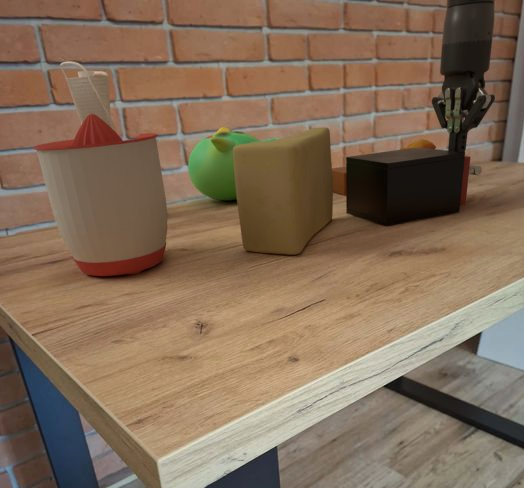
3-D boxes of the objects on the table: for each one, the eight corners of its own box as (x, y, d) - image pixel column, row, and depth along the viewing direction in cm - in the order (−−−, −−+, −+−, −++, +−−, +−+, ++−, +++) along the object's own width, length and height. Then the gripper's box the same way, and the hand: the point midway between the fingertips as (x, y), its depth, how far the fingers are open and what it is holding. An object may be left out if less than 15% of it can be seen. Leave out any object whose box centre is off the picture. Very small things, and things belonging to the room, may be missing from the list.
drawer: (443, 192, 98) (447, 148, 94) (487, 201, 88) (493, 153, 85) (361, 206, 92) (361, 160, 89) (398, 217, 83) (400, 166, 79)
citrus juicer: (195, 245, 80) (175, 105, 71) (152, 283, 65) (120, 112, 56) (105, 247, 84) (75, 114, 74) (44, 284, 68) (-3, 122, 59)
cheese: (303, 217, 92) (300, 127, 85) (355, 219, 87) (355, 124, 80) (239, 252, 75) (228, 143, 68) (298, 257, 70) (293, 140, 64)
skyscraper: (98, 228, 97) (61, 60, 84) (93, 221, 104) (57, 64, 91) (142, 221, 100) (112, 57, 87) (134, 214, 106) (105, 61, 94)
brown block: (343, 187, 115) (343, 166, 113) (362, 192, 109) (363, 170, 107) (326, 190, 114) (325, 169, 112) (344, 195, 107) (344, 172, 105)
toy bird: (250, 189, 123) (244, 123, 116) (289, 197, 110) (285, 123, 103) (181, 201, 115) (171, 131, 109) (214, 211, 102) (205, 132, 96)
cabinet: (413, 201, 97) (416, 147, 92) (459, 212, 86) (465, 152, 82) (346, 213, 92) (346, 157, 88) (385, 226, 82) (388, 163, 77)
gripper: (518, 34, 77) (501, 156, 84) (457, 43, 88) (448, 150, 96) (478, 36, 74) (465, 161, 82) (421, 45, 85) (414, 155, 93)
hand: (456, 155), depth 89 cm, fingers closed
